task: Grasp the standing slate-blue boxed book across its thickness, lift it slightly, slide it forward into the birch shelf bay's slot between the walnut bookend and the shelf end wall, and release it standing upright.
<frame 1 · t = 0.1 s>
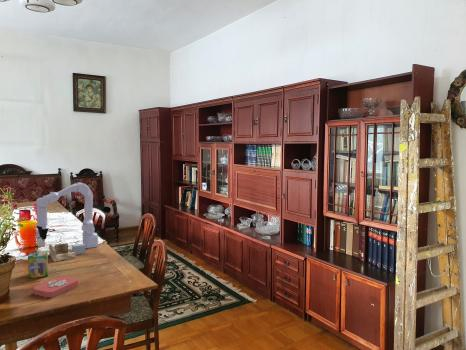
hand: (42, 238, 235), 10 cm above the table, fingers open, 7 cm apart
ink box: (37, 246, 252), on the table
chalk box: (38, 275, 199), on the table
slate boxed book: (78, 253, 237), on the table
pink flat block: (54, 290, 181), on the table
birch shelf bay: (62, 256, 231), on the table
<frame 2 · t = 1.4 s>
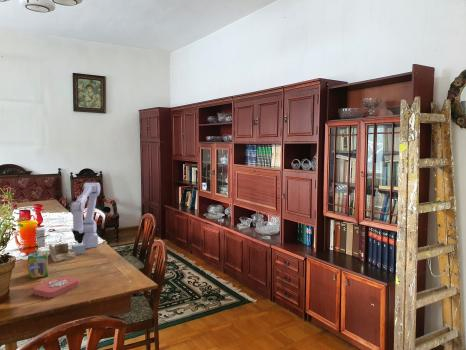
hand: (78, 242, 236), 7 cm above the table, fingers open, 7 cm apart
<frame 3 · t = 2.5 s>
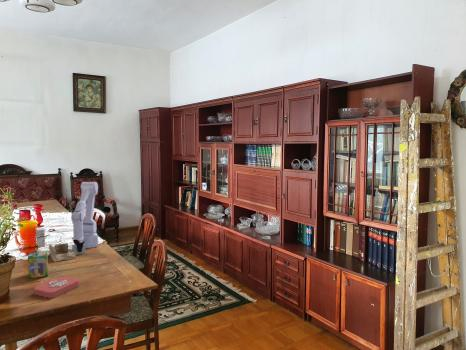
hand: (78, 251, 237), 1 cm above the table, fingers closed on slate boxed book, 4 cm apart
slate boxed book: (78, 253, 237), on the table, touching gripper
everything else where it was.
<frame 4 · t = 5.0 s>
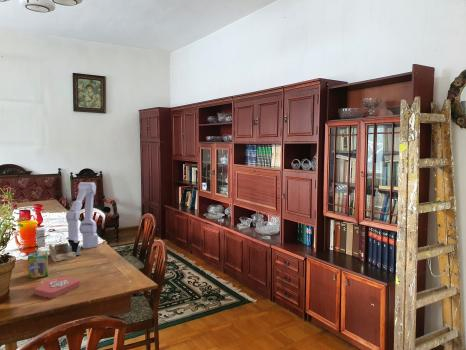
hand: (73, 251, 232), 3 cm above the table, fingers closed on slate boxed book, 4 cm apart
slate boxed book: (73, 254, 233), point 1 cm above the table, touching gripper
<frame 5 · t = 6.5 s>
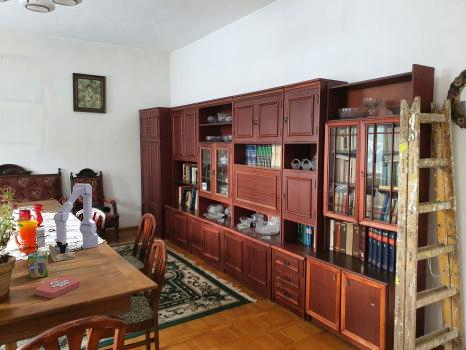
hand: (62, 253, 228), 3 cm above the table, fingers closed on slate boxed book, 4 cm apart
slate boxed book: (62, 256, 229), point 1 cm above the table, touching birch shelf bay, gripper
when the fingers open (3 cm above the table, at t = 7.3 s): slate boxed book stays where it is, resting on birch shelf bay.
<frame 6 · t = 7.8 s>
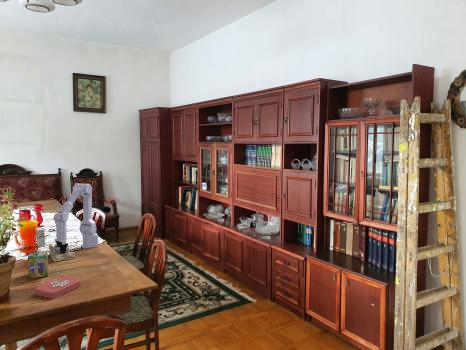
hand: (62, 253, 228), 3 cm above the table, fingers open, 6 cm apart
slate boxed book: (62, 256, 229), point 1 cm above the table, touching birch shelf bay
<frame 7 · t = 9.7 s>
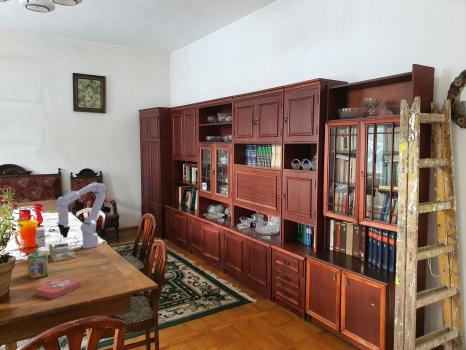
hand: (63, 236, 239), 10 cm above the table, fingers open, 7 cm apart
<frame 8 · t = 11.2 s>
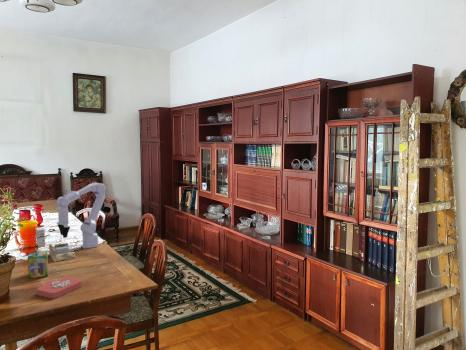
hand: (63, 236, 239), 10 cm above the table, fingers open, 7 cm apart
at the end: slate boxed book inside the target area (0.0 cm from its centre), point 0.6 cm above the table; slate boxed book tilted 0°; the gripper is holding nothing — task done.
